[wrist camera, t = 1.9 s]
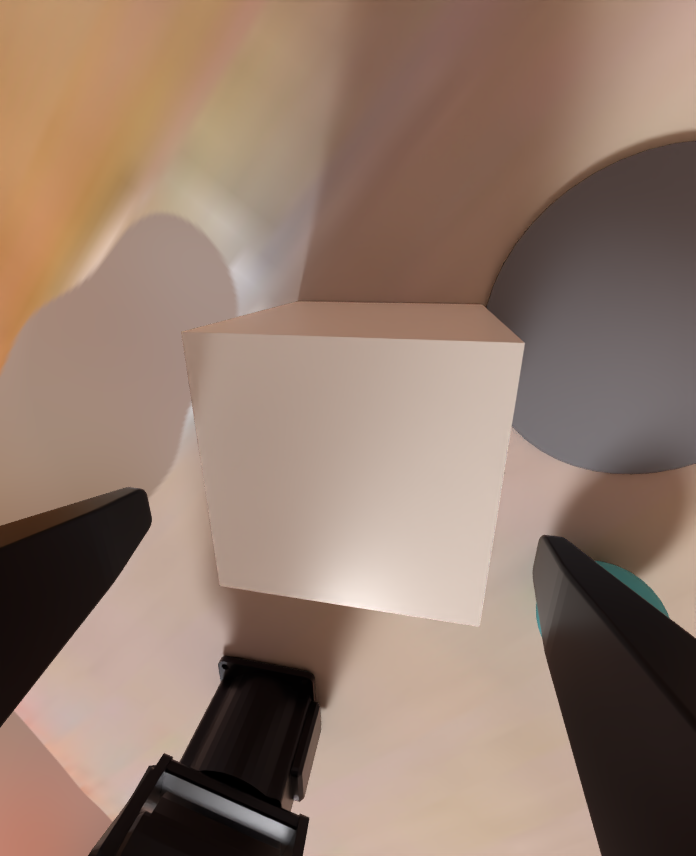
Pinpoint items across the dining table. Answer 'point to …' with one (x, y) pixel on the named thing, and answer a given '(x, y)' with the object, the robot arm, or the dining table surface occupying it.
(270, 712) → the robot arm
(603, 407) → the disc
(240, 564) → the white block
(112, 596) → the dining table surface
